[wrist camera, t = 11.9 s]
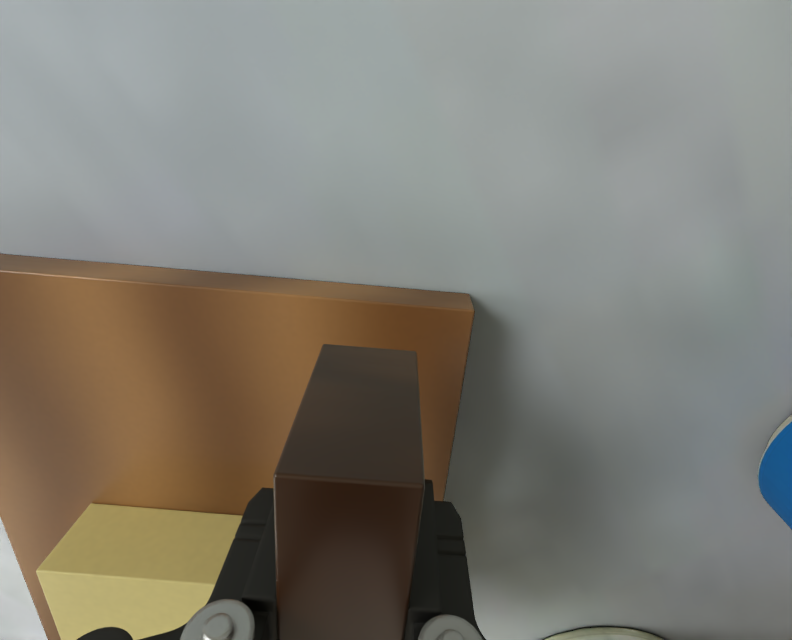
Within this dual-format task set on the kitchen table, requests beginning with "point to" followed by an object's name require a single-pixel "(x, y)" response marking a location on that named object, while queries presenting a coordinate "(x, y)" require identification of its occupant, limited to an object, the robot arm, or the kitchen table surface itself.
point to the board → (184, 385)
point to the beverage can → (778, 472)
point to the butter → (134, 569)
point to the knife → (350, 498)
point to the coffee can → (605, 634)
